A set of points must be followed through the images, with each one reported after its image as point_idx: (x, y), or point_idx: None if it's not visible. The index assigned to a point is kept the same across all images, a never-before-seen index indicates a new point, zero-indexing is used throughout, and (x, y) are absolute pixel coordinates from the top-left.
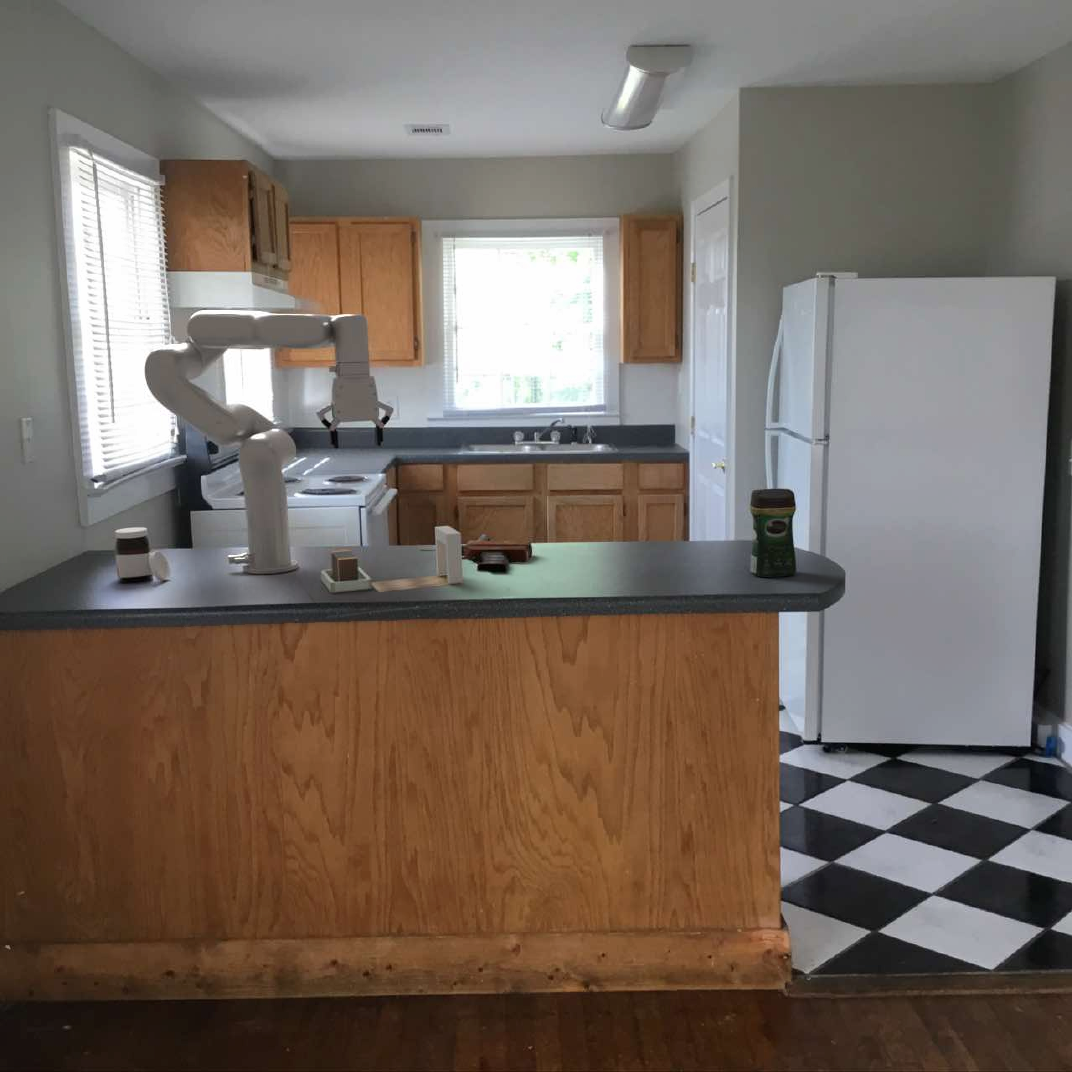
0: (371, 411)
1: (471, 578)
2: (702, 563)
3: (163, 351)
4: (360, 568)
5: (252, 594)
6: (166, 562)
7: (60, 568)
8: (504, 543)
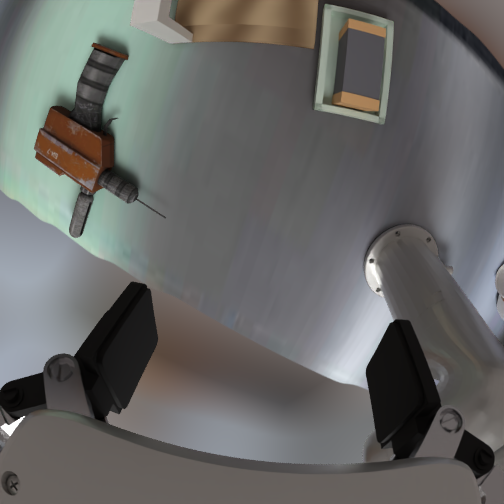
0: (52, 495)
1: None
2: None
3: None
4: (317, 92)
5: (474, 116)
6: (500, 293)
7: None
8: (58, 146)
